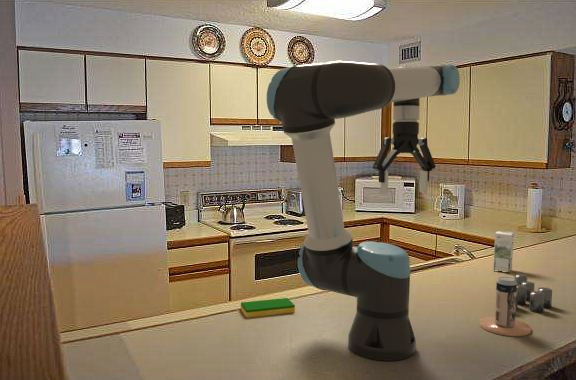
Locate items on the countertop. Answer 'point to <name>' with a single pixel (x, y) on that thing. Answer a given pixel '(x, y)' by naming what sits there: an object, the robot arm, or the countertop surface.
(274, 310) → the dish sponge
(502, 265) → the syrup box
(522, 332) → the peach disc
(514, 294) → the beer can
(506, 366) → the countertop surface
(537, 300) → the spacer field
